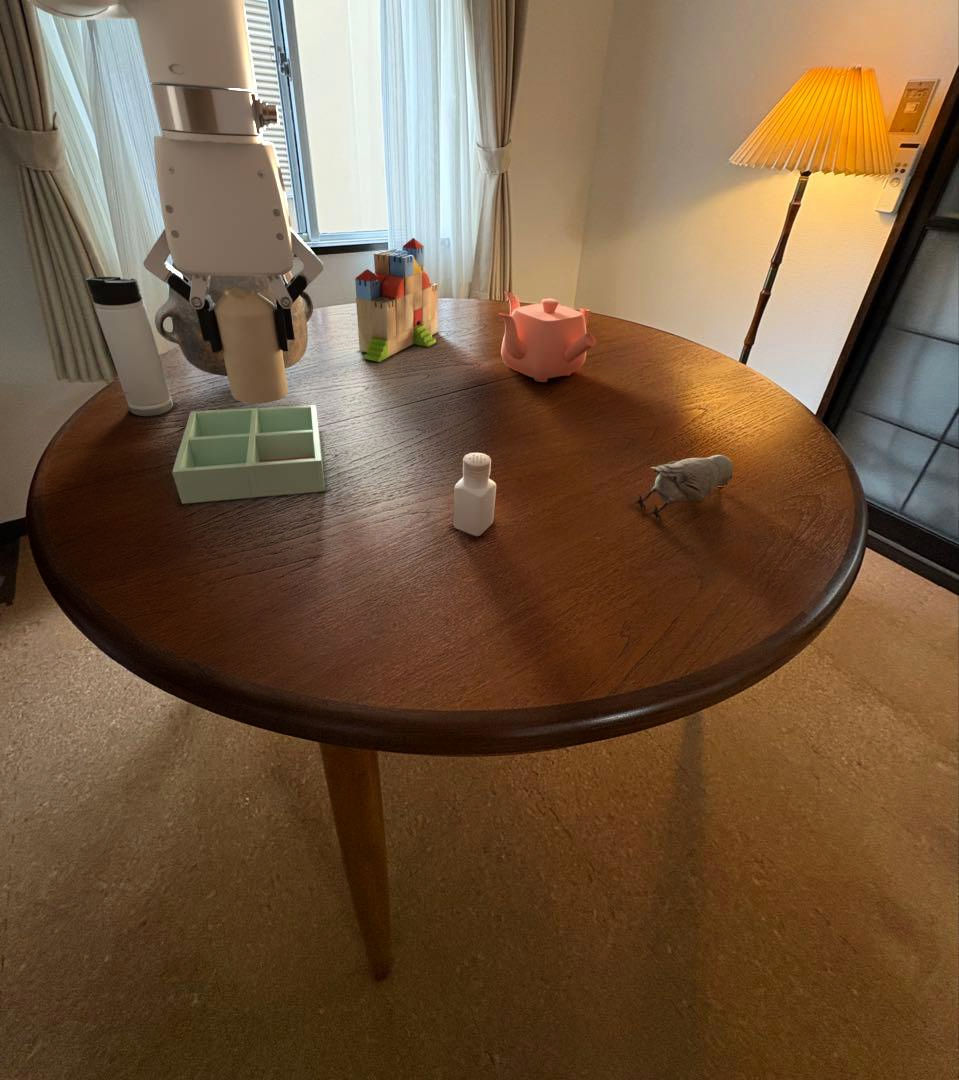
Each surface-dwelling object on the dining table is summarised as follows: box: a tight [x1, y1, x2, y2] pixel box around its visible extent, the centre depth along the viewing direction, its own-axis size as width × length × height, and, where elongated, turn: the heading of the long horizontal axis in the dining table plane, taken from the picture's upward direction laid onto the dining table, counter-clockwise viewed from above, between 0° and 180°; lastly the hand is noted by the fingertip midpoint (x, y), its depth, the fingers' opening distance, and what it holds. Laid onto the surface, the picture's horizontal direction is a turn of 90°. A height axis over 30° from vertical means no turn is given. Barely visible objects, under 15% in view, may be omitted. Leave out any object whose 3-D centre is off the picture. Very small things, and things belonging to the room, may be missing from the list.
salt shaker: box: [452, 452, 497, 537], centre depth 67 cm, size 4×4×10 cm
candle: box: [213, 288, 289, 404], centre depth 55 cm, size 6×6×10 cm
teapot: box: [498, 290, 597, 383], centre depth 110 cm, size 18×18×14 cm
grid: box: [171, 404, 326, 505], centre depth 77 cm, size 17×17×5 cm
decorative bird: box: [633, 454, 735, 522], centre depth 75 cm, size 5×16×7 cm, turn 122°
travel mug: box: [85, 276, 174, 417], centre depth 84 cm, size 6×7×20 cm
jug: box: [154, 261, 314, 377], centre depth 93 cm, size 24×21×30 cm
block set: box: [354, 237, 439, 363], centre depth 118 cm, size 28×14×19 cm, turn 155°
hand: (251, 345), depth 55 cm, fingers closed on candle, 5 cm apart
